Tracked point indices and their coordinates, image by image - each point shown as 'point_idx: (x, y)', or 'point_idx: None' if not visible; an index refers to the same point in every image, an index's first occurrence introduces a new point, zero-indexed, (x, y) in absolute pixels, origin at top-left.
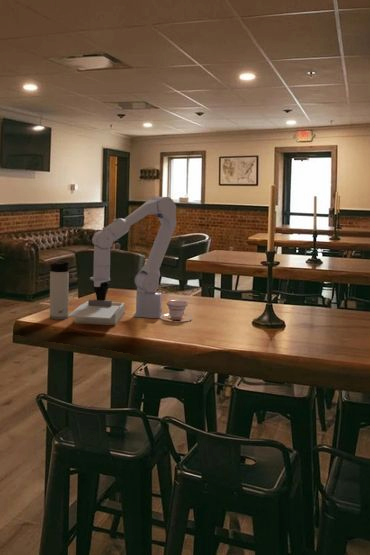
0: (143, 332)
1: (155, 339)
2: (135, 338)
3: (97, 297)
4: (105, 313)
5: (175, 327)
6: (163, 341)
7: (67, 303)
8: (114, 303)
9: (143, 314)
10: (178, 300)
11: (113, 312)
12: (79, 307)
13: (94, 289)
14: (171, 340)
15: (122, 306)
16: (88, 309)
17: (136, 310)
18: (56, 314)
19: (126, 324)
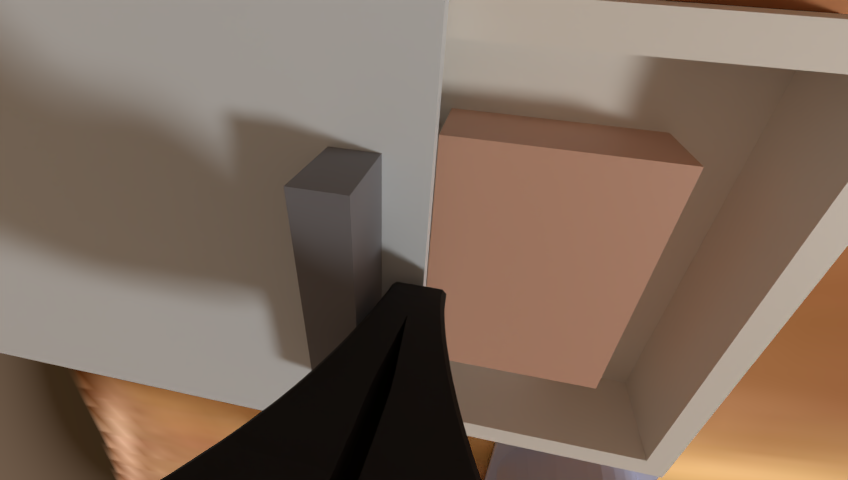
0: (188, 408)
1: (117, 426)
2: (78, 372)
3: (350, 347)
4: (75, 329)
5: None
6: (110, 441)
7: None
8: (681, 405)
9: (499, 475)
10: None
11: (147, 380)
12: (138, 14)
13: (177, 471)
14: (139, 461)
15: (520, 441)
16: (109, 173)
17: (547, 473)
18: None
19: None
